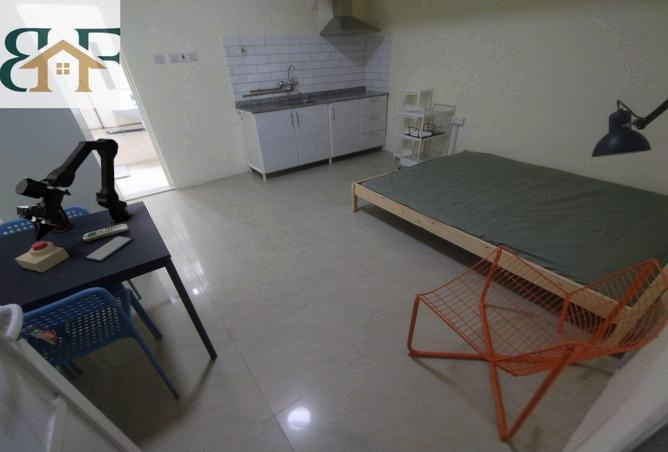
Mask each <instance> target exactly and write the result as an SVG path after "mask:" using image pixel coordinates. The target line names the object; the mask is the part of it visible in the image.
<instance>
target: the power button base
mask: <svg viewBox="0 0 668 452" xmlns="http://www.w3.org/2000/svg"><path fill="white" fill-rule="evenodd" d="M45 242H46V244H47V245H48V246H47V247H46V248H44V249H41V250H38V251H35V250H34V249H33V248H32V247H31V248H29V250H28V251H27V252H25V253H23V254H21V255H19V256H17V257H16V258H14V260H15V261H16V262H17V263H18V265H19V266H20V267H21V268H23V269H27V270H31V271H35V272H39V273H42V274H44V273H45V272H46V271H49V270H50V269H52V268H53V267H55V266H57V265H58V264H60V263H62V262H63V261H65V260H66V259H68V258H70V254H68V252H67V251H66V250H65V248H64V247H60V246H56V245H55V244H54V243H53V242H51V241H45Z"/></svg>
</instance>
